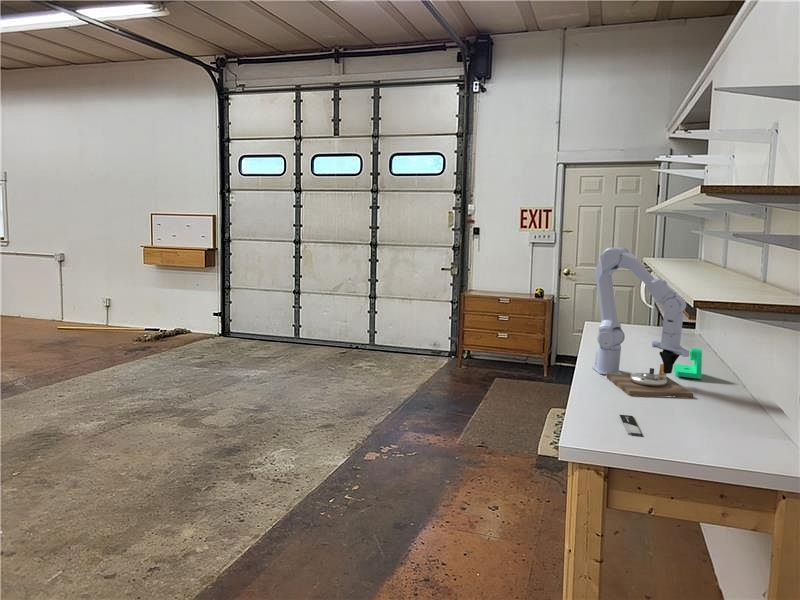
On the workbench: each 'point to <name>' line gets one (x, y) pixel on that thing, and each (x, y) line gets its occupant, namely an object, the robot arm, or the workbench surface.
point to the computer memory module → (631, 425)
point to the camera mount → (692, 370)
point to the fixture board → (648, 387)
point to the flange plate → (650, 378)
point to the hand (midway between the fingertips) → (667, 373)
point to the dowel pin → (651, 371)
